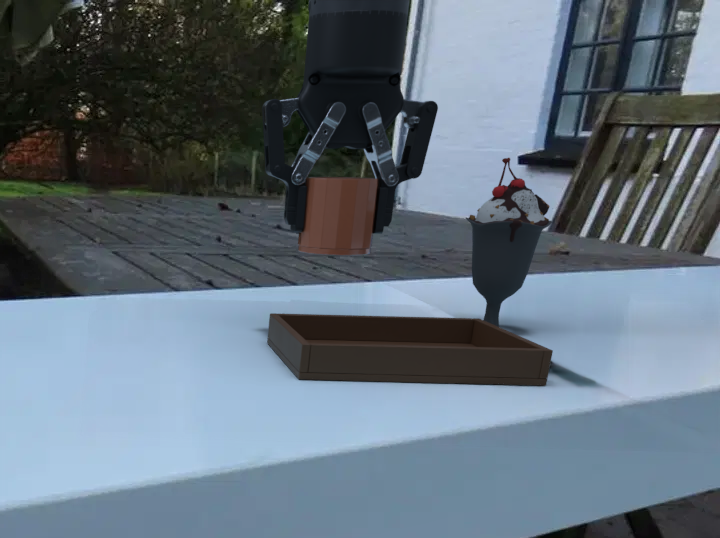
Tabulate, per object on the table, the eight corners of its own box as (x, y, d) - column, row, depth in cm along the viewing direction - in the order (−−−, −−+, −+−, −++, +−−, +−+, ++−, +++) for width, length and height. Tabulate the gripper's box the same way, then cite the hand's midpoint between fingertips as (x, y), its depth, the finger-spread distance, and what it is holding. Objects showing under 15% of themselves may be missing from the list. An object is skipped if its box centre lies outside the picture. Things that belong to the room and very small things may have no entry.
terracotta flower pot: (360, 248, 82) (367, 177, 80) (378, 255, 76) (387, 179, 74) (292, 247, 82) (298, 176, 80) (305, 254, 76) (312, 178, 74)
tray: (474, 348, 77) (479, 318, 76) (546, 385, 64) (553, 350, 63) (267, 343, 77) (269, 313, 76) (298, 379, 65) (302, 344, 64)
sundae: (449, 345, 78) (479, 156, 73) (444, 331, 84) (471, 156, 79) (534, 351, 76) (571, 158, 71) (523, 337, 82) (556, 158, 77)
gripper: (274, 4, 69) (257, 235, 75) (467, 6, 69) (436, 237, 75) (259, 18, 76) (244, 228, 82) (434, 19, 76) (407, 230, 82)
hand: (336, 231), depth 78 cm, fingers closed on terracotta flower pot, 6 cm apart
